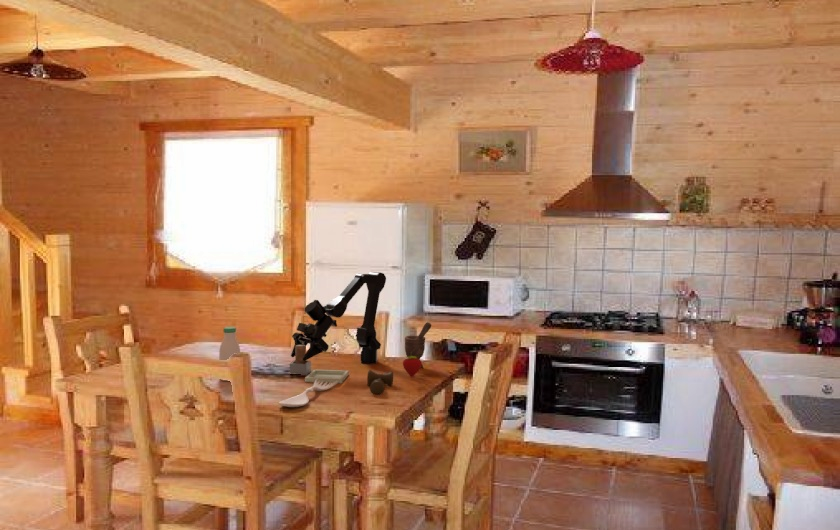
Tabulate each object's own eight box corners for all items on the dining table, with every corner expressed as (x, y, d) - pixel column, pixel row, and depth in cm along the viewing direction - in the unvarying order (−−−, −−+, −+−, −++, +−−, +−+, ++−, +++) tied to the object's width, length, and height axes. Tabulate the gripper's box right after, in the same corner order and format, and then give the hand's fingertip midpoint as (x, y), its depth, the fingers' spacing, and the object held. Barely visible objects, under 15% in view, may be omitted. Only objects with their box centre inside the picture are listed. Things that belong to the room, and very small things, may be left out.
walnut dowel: (306, 372, 261) (306, 344, 261) (304, 374, 257) (304, 346, 257) (296, 371, 262) (296, 344, 261) (294, 373, 258) (294, 346, 257)
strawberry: (420, 379, 255) (421, 353, 254) (401, 378, 256) (402, 353, 255) (422, 375, 261) (422, 350, 260) (403, 374, 262) (403, 350, 261)
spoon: (338, 388, 240) (338, 379, 240) (298, 412, 209) (298, 402, 209) (316, 386, 242) (316, 377, 242) (273, 410, 212) (273, 399, 211)
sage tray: (348, 376, 258) (348, 370, 258) (341, 385, 244) (341, 379, 244) (313, 374, 259) (314, 369, 259) (304, 383, 245) (304, 377, 245)
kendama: (363, 396, 231) (369, 381, 251) (390, 397, 231) (394, 382, 251) (363, 379, 231) (369, 365, 250) (390, 381, 230) (394, 367, 250)
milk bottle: (241, 380, 248) (241, 328, 247) (220, 382, 245) (220, 329, 244) (239, 376, 255) (238, 325, 254) (218, 377, 252) (218, 326, 251)
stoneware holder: (310, 372, 263) (311, 360, 262) (306, 376, 256) (306, 364, 256) (294, 372, 263) (294, 360, 263) (289, 376, 256) (289, 363, 256)
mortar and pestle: (433, 366, 277) (434, 320, 276) (429, 371, 269) (430, 323, 267) (406, 365, 279) (407, 319, 278) (402, 369, 271) (403, 322, 270)
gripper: (296, 312, 267) (272, 342, 261) (322, 318, 254) (298, 349, 247) (312, 329, 273) (289, 359, 267) (338, 336, 260) (315, 367, 253)
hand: (297, 358), depth 258 cm, fingers open, 8 cm apart
